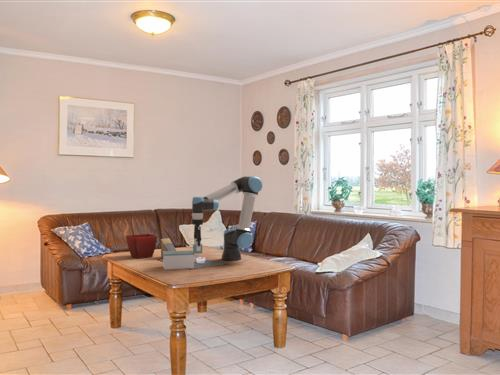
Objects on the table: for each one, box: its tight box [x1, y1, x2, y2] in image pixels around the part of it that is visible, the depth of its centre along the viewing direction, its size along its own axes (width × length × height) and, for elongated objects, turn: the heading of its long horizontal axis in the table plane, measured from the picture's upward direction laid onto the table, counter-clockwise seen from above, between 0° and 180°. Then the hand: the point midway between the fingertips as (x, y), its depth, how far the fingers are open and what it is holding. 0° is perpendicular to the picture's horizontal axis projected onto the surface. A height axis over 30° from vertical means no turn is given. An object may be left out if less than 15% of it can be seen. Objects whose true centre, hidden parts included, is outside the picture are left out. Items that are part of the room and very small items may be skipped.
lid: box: [163, 243, 203, 256], centre depth 309 cm, size 27×13×6 cm, turn 104°
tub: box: [162, 254, 195, 271], centre depth 308 cm, size 20×12×10 cm, turn 104°
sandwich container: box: [160, 237, 177, 259], centre depth 347 cm, size 9×15×15 cm, turn 49°
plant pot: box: [125, 233, 158, 259], centre depth 353 cm, size 19×19×17 cm
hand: (197, 249), depth 311 cm, fingers open, 13 cm apart
